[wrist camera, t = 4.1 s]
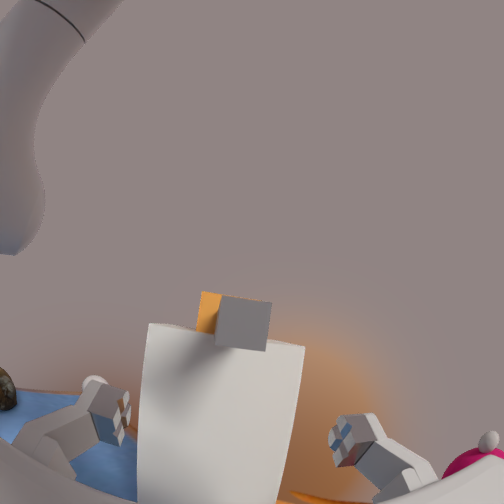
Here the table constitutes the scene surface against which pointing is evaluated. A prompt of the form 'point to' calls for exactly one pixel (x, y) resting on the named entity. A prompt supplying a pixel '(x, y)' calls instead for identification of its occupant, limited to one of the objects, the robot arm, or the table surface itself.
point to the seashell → (6, 391)
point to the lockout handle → (234, 321)
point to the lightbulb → (93, 379)
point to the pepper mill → (476, 453)
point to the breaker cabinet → (214, 418)
